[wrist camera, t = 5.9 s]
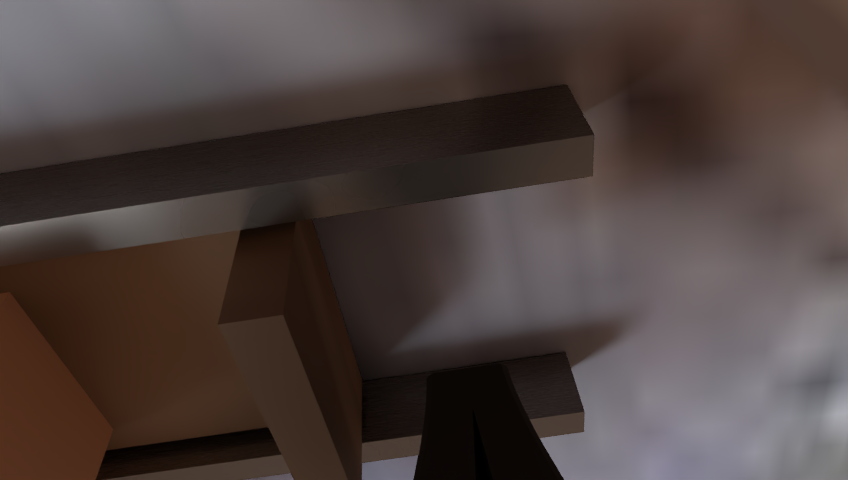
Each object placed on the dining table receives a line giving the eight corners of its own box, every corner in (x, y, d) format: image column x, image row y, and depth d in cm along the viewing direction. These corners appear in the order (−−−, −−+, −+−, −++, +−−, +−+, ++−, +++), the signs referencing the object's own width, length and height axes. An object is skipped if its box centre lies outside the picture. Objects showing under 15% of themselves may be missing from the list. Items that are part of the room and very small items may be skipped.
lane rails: (45, 447, 17) (17, 511, 16) (-175, 201, 12) (-245, 264, 11) (565, 372, 17) (583, 431, 15) (567, 84, 12) (593, 134, 10)
